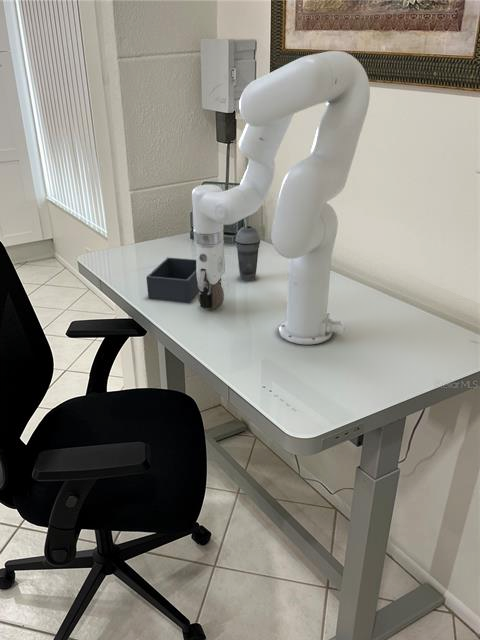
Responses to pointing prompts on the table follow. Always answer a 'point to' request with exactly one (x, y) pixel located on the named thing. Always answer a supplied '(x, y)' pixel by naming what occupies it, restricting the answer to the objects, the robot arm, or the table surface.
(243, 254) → the beverage cup
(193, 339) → the table surface
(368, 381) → the table surface
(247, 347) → the table surface
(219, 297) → the vase
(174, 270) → the dark grey open box
